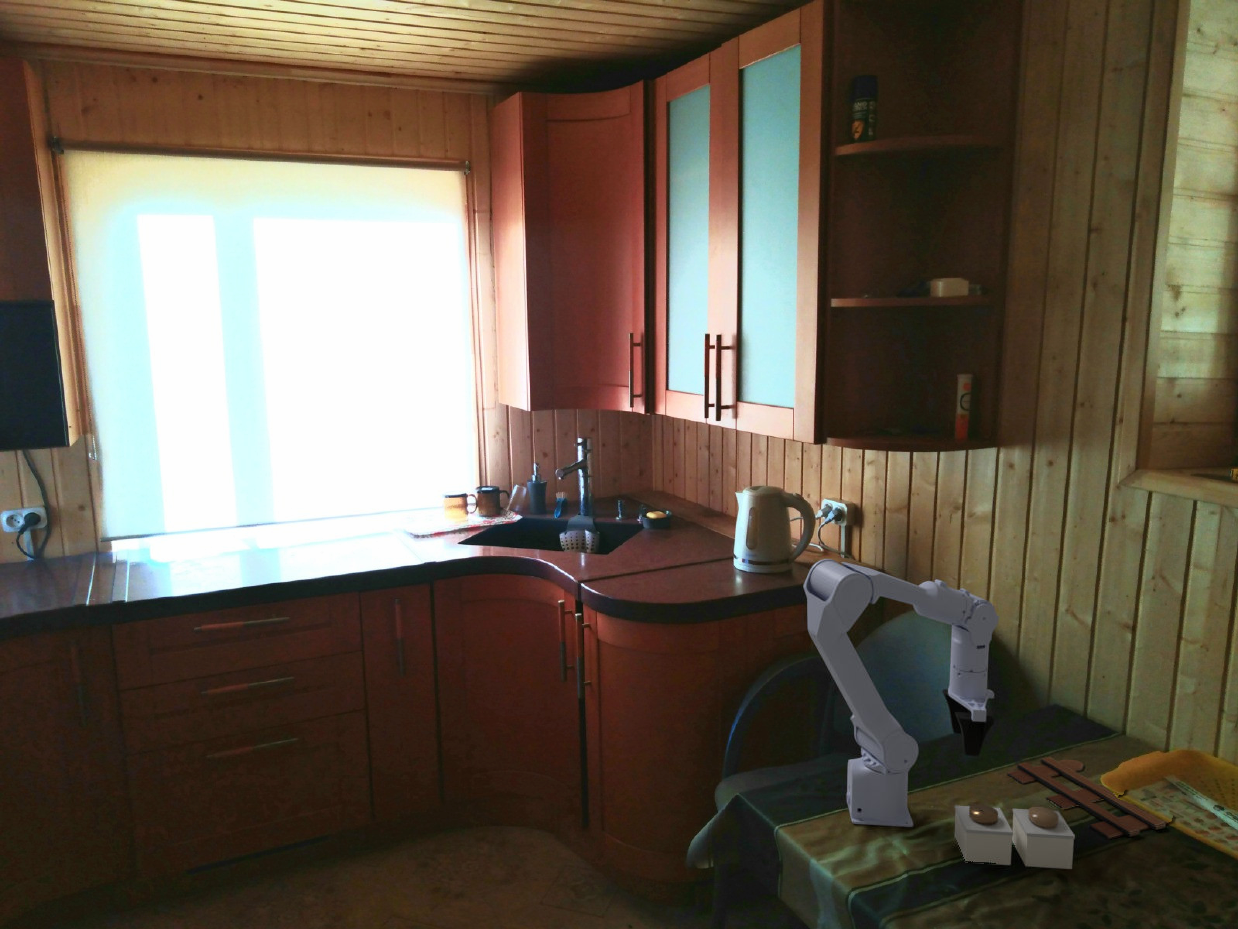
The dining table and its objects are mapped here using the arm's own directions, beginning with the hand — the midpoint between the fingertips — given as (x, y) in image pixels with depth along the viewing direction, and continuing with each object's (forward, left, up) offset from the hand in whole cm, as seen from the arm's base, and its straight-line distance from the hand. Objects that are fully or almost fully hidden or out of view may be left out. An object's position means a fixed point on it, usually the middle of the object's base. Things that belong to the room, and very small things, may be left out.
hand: (965, 743), depth 142 cm
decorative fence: (+21, +3, -11) cm, 24 cm away
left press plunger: (-1, -15, -9) cm, 18 cm away
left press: (-1, -15, -10) cm, 18 cm away
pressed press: (+8, -15, -10) cm, 19 cm away
